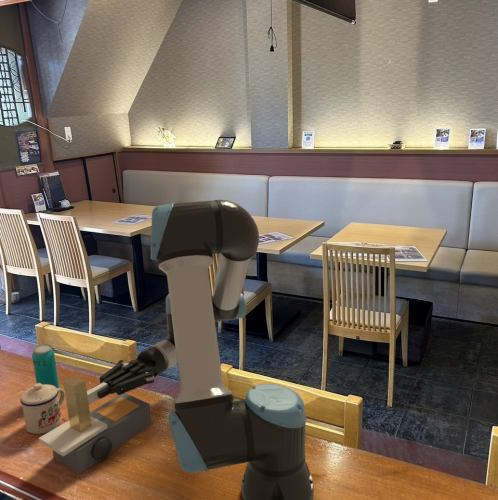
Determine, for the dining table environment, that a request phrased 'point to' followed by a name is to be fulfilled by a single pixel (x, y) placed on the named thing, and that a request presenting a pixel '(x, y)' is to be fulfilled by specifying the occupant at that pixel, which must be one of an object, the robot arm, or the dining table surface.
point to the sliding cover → (74, 420)
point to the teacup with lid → (42, 408)
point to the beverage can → (45, 365)
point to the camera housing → (110, 431)
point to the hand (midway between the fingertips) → (83, 400)
